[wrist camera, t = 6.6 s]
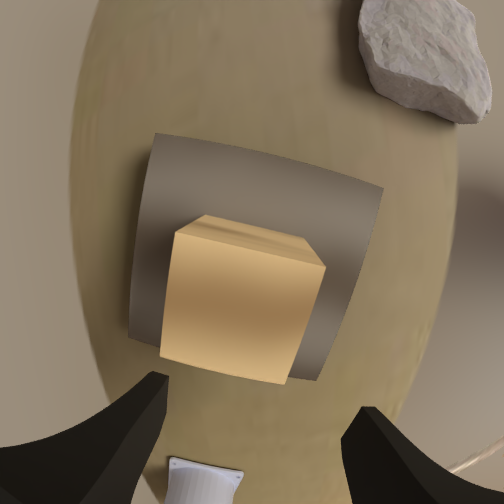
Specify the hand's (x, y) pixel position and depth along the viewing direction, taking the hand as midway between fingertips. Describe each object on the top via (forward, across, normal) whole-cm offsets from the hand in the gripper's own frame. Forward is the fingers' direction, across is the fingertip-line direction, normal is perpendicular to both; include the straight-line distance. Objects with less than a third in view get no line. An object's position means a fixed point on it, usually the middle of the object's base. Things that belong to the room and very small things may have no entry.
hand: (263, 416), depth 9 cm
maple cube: (+6, +2, -3) cm, 7 cm away
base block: (+10, +2, -3) cm, 10 cm away
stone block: (+10, -6, -21) cm, 24 cm away
